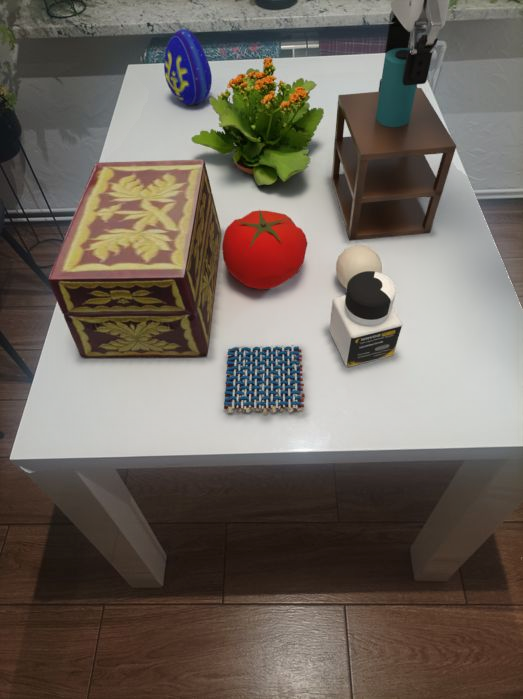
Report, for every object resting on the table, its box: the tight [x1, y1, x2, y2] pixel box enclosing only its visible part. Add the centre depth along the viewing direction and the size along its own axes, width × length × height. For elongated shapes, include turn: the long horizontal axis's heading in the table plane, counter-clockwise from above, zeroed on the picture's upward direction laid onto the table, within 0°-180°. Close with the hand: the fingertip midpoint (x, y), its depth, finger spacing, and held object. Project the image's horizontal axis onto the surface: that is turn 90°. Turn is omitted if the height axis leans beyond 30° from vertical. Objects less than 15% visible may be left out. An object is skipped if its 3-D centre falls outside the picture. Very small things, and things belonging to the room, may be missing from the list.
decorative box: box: [48, 159, 222, 359], centre depth 70 cm, size 28×19×15 cm
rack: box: [331, 87, 457, 241], centre depth 80 cm, size 14×18×16 cm
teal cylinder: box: [376, 47, 418, 127], centre depth 70 cm, size 5×5×9 cm
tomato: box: [221, 209, 308, 290], centre depth 73 cm, size 13×12×11 cm
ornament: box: [163, 28, 213, 106], centre depth 107 cm, size 11×9×15 cm
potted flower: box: [191, 57, 325, 187], centre depth 90 cm, size 25×24×18 cm
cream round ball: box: [335, 244, 383, 289], centre depth 73 cm, size 7×7×7 cm
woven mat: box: [223, 344, 306, 416], centre depth 64 cm, size 10×11×2 cm
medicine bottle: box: [329, 271, 403, 368], centre depth 63 cm, size 7×7×12 cm
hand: (404, 68), depth 68 cm, fingers open, 9 cm apart
